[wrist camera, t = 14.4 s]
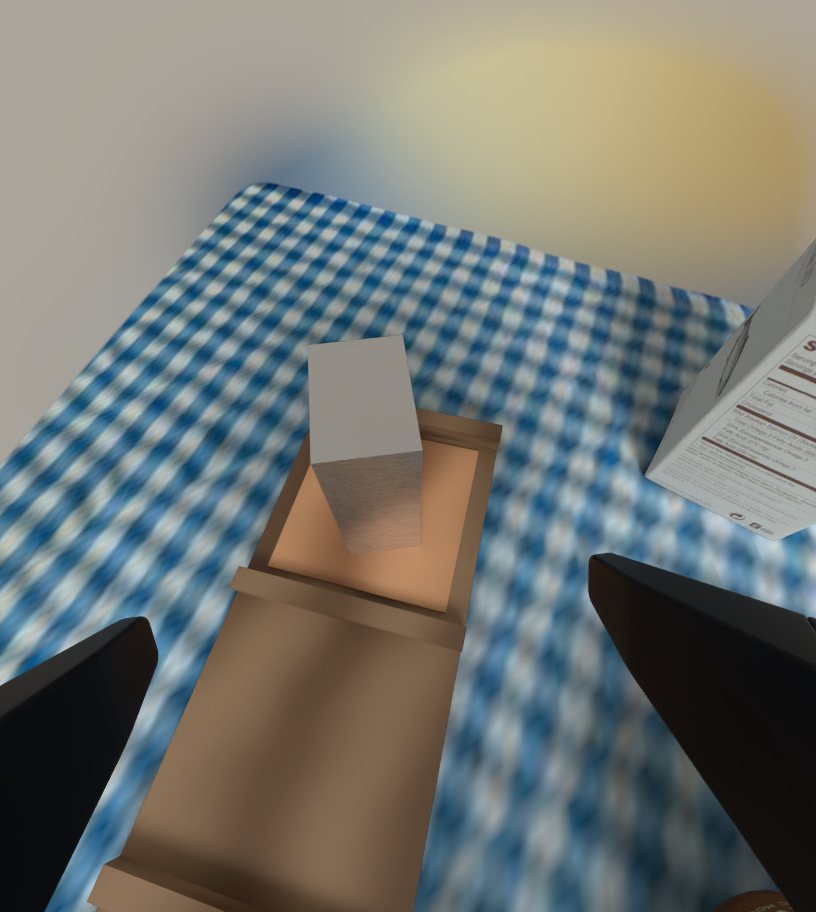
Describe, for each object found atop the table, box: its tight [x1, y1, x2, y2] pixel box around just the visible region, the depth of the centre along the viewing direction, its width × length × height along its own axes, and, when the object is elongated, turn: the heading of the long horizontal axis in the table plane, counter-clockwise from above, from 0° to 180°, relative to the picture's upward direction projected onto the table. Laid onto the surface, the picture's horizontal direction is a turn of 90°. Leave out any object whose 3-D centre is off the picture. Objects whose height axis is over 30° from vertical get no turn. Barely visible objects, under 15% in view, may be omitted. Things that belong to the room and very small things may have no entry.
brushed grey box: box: [308, 335, 423, 555], centre depth 19 cm, size 5×4×10 cm
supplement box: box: [645, 239, 816, 541], centre depth 20 cm, size 7×7×13 cm
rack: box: [87, 408, 503, 912], centre depth 18 cm, size 11×34×2 cm, turn 165°
